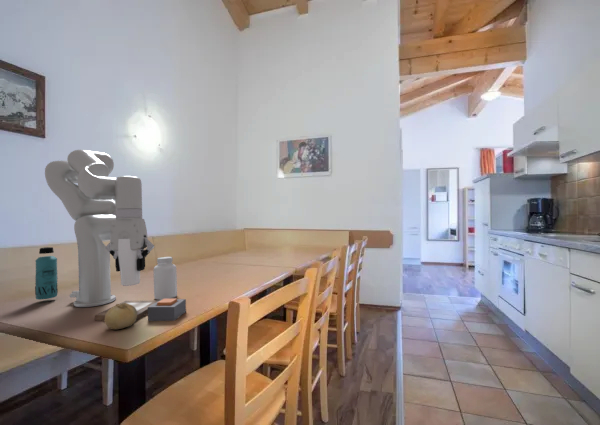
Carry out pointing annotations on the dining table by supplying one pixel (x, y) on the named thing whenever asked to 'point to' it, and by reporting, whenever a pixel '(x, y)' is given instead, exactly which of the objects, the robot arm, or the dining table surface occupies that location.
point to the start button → (167, 302)
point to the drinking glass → (128, 263)
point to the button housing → (166, 311)
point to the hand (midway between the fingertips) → (130, 270)
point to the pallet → (139, 305)
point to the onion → (120, 316)
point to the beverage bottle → (46, 275)
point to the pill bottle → (165, 279)
